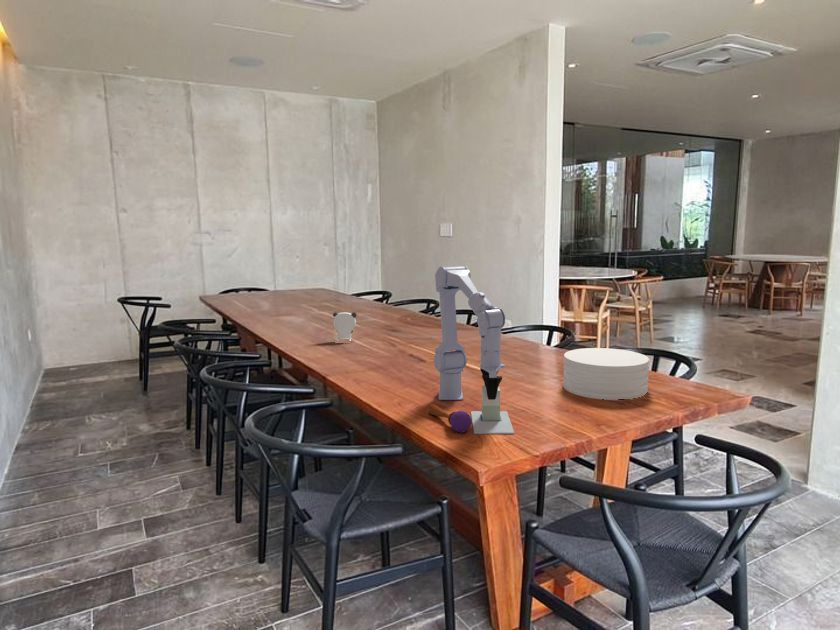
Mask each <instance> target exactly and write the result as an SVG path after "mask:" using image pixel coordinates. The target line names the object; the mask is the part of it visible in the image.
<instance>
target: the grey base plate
mask: <svg viewBox="0 0 840 630" xmlns="http://www.w3.org/2000/svg"><path fill="white" fill-rule="evenodd" d="M470 414H471V415H470V417H471V420H472V428H473V434H474V435H514V434H515V430H514V427H513V425H512V422H511V419H510V417H509V413H508V410H505V411H504V410H503V411H502V410H500V421H483V420H482V410H478V411H477V410H472V411H470Z"/></svg>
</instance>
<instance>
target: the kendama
mask: <svg viewBox="0 0 840 630" xmlns="http://www.w3.org/2000/svg"><path fill="white" fill-rule="evenodd" d="M426 410H427V413H428V414H429V415H432V416H435V417H436V416H437V417H441V418H445V419H447V421H448V423H449V425H450V427H451V428H452V430H453V431H455V432H456V433H462V434H463V433H466V432H467V431H468V430H470V428H471V426H472V425H473V423H472V416H471V415H470V414H469V413H468V412H467V411H465V410H464V411H463V410H457V411H452V412H451V413H448V412H447V411H445V410H443V409H442V408H440V407H439V406H438V405H436V404H435V403H430V404H429V405H428V406H427V409H426Z"/></svg>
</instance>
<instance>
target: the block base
mask: <svg viewBox="0 0 840 630" xmlns="http://www.w3.org/2000/svg"><path fill="white" fill-rule="evenodd" d="M481 411H482V420H483V421H500V411H501V405H500V406H483V404H482V403H481Z"/></svg>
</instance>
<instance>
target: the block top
mask: <svg viewBox="0 0 840 630" xmlns="http://www.w3.org/2000/svg"><path fill="white" fill-rule="evenodd" d="M482 404H483V406H500V407H501V388H500V386H499V387H498V390H497V396H496V399H495V400H488V397H487V391H486V386H485V385H482V386H481V405H482Z"/></svg>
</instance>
